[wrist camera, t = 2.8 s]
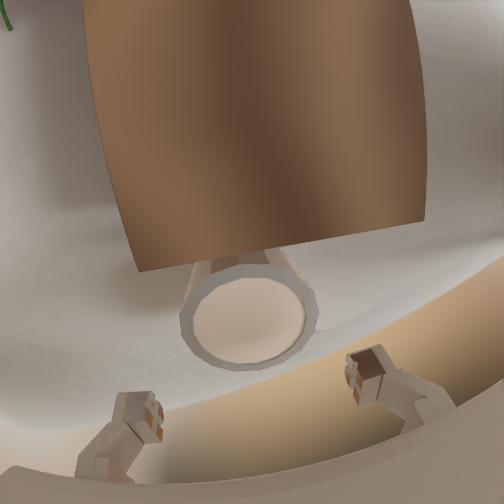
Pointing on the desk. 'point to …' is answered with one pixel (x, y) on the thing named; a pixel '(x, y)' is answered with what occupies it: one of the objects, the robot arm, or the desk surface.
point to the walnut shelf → (256, 121)
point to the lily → (1, 7)
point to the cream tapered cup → (247, 310)
